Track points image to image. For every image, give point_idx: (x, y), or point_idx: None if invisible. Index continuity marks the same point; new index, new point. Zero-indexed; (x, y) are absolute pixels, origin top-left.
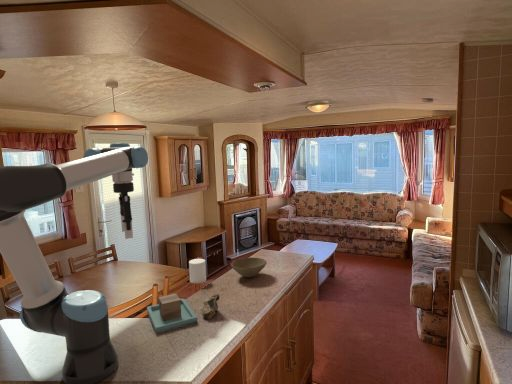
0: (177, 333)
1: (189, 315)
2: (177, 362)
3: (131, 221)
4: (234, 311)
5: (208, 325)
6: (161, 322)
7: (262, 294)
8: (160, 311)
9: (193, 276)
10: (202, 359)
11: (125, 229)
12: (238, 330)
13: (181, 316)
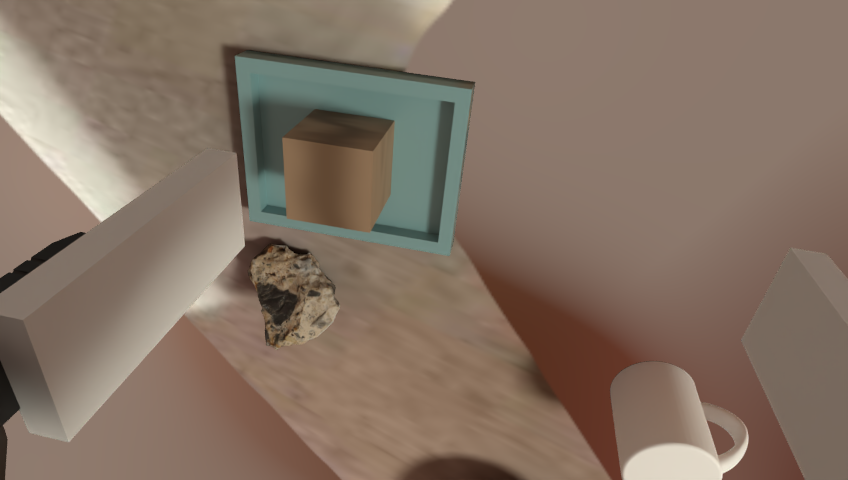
0: (214, 120)
1: None
2: (33, 48)
3: (27, 426)
4: None
5: None
6: (309, 98)
7: (348, 449)
8: (363, 124)
9: (638, 389)
10: (32, 121)
11: (110, 228)
12: None
13: None
